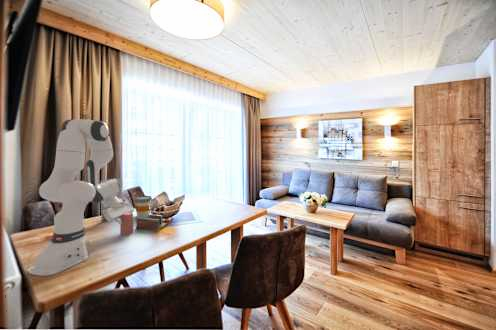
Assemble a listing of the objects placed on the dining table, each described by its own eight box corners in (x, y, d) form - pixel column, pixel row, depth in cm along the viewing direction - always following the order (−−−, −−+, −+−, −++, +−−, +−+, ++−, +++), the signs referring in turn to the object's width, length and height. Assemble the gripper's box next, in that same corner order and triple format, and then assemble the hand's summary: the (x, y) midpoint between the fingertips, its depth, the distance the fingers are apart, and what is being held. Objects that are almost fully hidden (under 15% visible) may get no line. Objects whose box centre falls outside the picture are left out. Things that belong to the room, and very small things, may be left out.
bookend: (161, 224, 153) (161, 215, 153) (148, 222, 155) (148, 214, 154) (162, 223, 154) (162, 215, 154) (149, 222, 156) (149, 214, 156)
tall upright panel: (107, 221, 158) (106, 181, 156) (101, 221, 160) (100, 180, 157) (122, 215, 172) (122, 178, 170) (116, 215, 173) (116, 178, 171)
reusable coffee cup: (144, 212, 183) (144, 195, 182) (155, 215, 177) (155, 197, 176) (131, 216, 172) (130, 198, 170) (141, 219, 166) (141, 200, 165)
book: (128, 234, 137) (128, 214, 136) (120, 234, 138) (120, 214, 137) (133, 232, 141) (132, 213, 140) (124, 231, 142) (124, 212, 141)
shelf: (157, 231, 144) (157, 220, 143) (135, 229, 146) (135, 218, 146) (166, 225, 155) (166, 215, 155) (146, 223, 158) (146, 213, 157)
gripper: (103, 206, 129) (118, 223, 128) (127, 198, 149) (140, 213, 148) (97, 213, 130) (111, 230, 129) (122, 204, 150) (135, 219, 149)
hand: (127, 221), depth 139 cm, fingers open, 8 cm apart
